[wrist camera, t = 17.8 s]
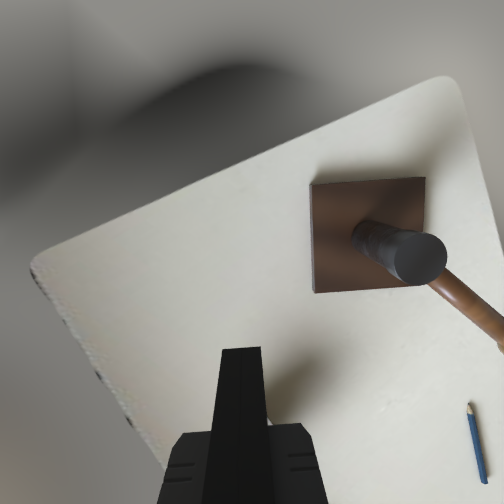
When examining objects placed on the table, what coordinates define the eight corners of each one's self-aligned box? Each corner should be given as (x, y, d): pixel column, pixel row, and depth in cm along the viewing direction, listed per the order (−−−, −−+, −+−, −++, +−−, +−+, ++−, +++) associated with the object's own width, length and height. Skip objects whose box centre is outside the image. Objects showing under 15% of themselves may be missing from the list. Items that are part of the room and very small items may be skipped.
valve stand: (309, 184, 40) (332, 185, 29) (419, 176, 40) (483, 174, 29) (312, 289, 43) (334, 325, 32) (414, 282, 43) (471, 315, 32)
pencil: (479, 479, 50) (463, 401, 47) (485, 477, 50) (469, 400, 47) (483, 484, 49) (467, 405, 46) (489, 482, 49) (473, 403, 46)
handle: (370, 257, 31) (384, 265, 28) (404, 218, 30) (423, 222, 27) (497, 361, 33) (523, 379, 30) (531, 328, 33) (562, 343, 30)
